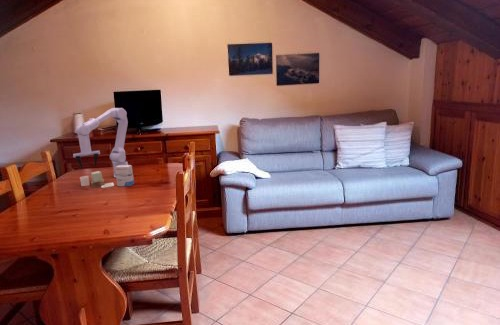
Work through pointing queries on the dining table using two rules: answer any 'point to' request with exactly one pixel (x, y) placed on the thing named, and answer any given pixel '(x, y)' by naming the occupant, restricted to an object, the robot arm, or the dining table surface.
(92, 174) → the sage block
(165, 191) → the dining table surface
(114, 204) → the dining table surface
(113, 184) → the tile
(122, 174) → the ink box
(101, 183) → the walnut slab
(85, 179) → the cream block
